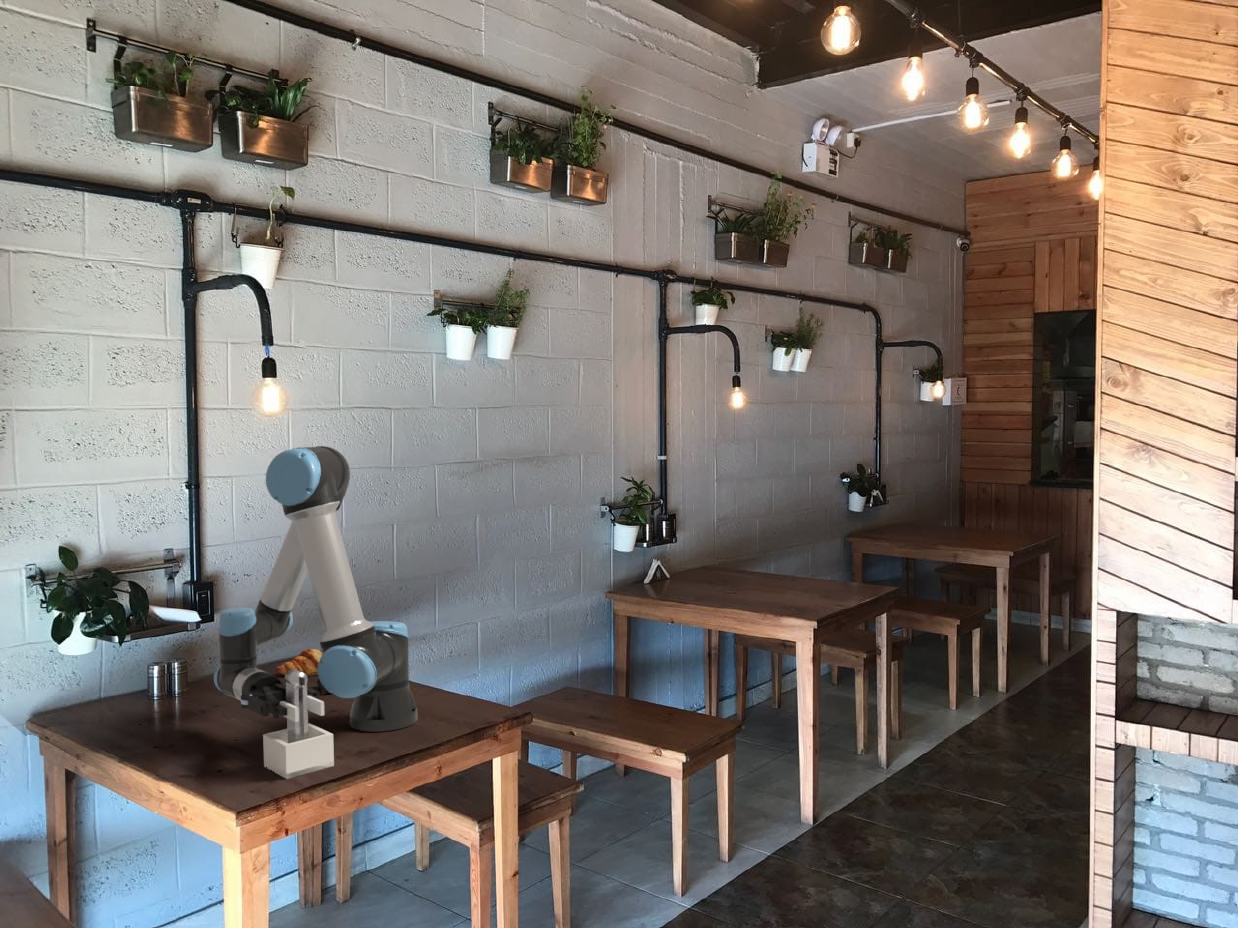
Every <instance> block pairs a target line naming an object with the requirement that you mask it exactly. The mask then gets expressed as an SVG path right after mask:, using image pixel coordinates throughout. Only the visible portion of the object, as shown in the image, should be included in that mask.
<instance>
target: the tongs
mask: <svg viewBox="0 0 1238 928" xmlns="http://www.w3.org/2000/svg"><path fill="white" fill-rule="evenodd" d="M308 677H309V676H307V675H306V674H305V673H302V672H300V671H297V670H294V669H292V670H289V671H288V672H287V673H286V675H284V680H285V685H286V702H287V703H289V704H292V705H294V706H296V707H298V708H299V721H298V722H294V721H292V720H290V719H288V718H286V721H287V722H286V726H287V727H286V729H287V736H288V744H289V743H293V742H297V741H301V740H305V739H309V737H308V724H309V710H308V704H307V687H308V679H309V678H308Z"/></svg>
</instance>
